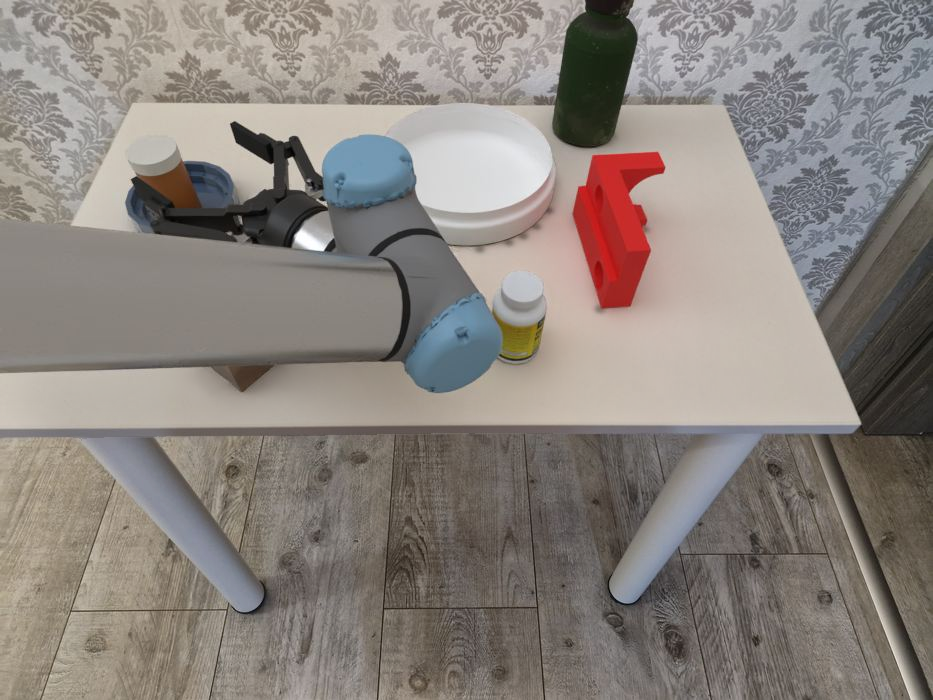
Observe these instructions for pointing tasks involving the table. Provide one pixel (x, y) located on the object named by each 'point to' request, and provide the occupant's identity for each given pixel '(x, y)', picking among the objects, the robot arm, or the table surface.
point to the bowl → (207, 183)
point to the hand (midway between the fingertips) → (188, 158)
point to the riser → (242, 374)
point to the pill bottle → (520, 315)
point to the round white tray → (478, 170)
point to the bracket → (615, 223)
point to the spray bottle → (594, 72)
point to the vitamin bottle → (163, 169)
